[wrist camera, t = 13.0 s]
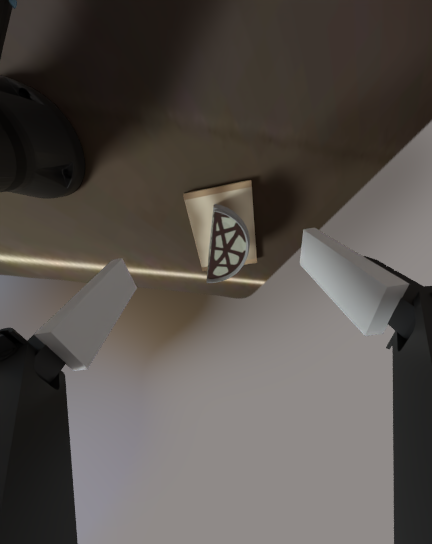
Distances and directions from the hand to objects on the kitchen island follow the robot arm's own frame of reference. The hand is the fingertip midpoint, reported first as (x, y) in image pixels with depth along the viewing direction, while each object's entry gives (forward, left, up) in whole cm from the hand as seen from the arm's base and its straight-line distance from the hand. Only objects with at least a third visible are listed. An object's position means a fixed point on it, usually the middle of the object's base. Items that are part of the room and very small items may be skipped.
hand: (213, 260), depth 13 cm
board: (+1, -5, -24) cm, 24 cm away
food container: (+2, -5, -22) cm, 23 cm away
